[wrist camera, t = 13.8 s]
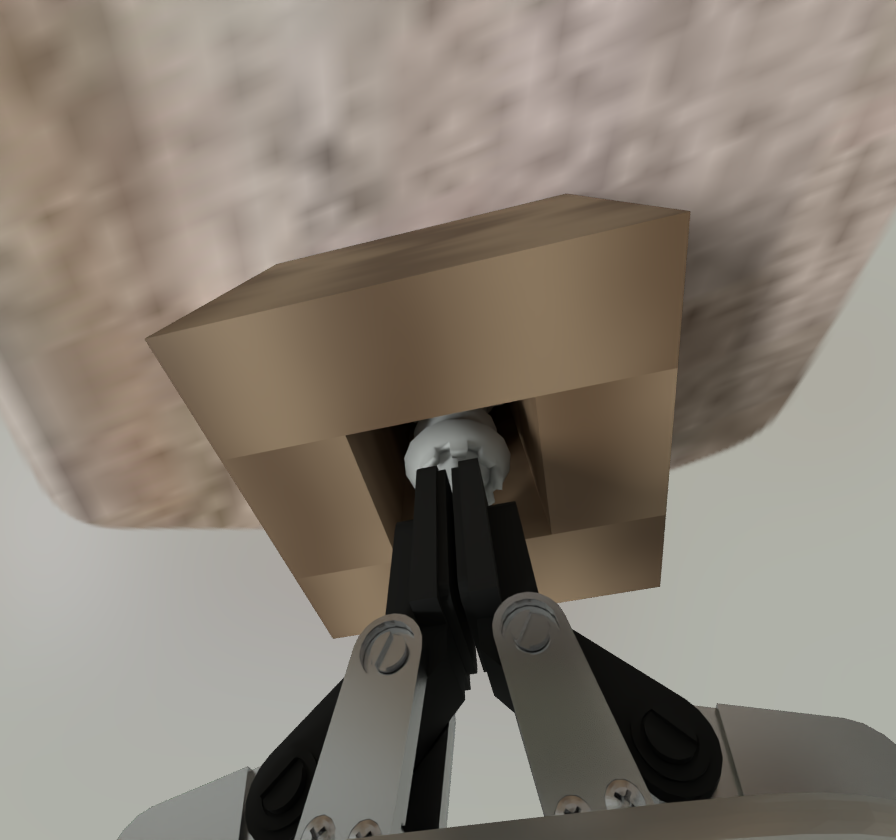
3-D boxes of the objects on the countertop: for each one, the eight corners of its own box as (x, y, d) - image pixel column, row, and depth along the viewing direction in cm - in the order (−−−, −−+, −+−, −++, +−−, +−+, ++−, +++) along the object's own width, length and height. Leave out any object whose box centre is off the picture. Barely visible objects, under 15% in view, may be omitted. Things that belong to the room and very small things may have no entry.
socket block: (566, 193, 16) (690, 211, 8) (580, 442, 22) (660, 586, 14) (276, 264, 17) (144, 339, 9) (366, 483, 23) (332, 638, 15)
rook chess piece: (406, 314, 17) (388, 406, 10) (509, 331, 18) (557, 430, 11) (395, 406, 19) (374, 532, 13) (487, 418, 20) (514, 546, 13)
